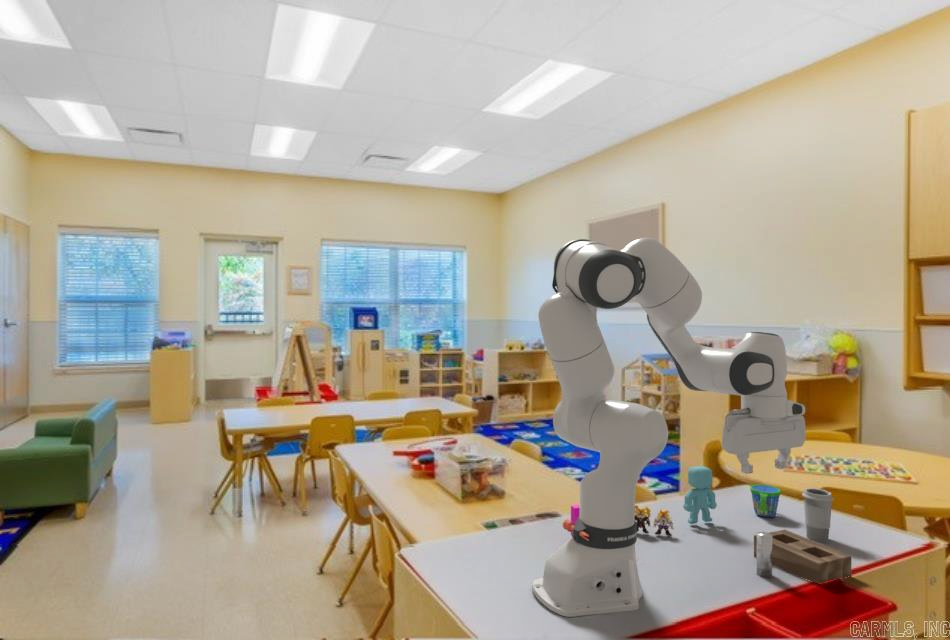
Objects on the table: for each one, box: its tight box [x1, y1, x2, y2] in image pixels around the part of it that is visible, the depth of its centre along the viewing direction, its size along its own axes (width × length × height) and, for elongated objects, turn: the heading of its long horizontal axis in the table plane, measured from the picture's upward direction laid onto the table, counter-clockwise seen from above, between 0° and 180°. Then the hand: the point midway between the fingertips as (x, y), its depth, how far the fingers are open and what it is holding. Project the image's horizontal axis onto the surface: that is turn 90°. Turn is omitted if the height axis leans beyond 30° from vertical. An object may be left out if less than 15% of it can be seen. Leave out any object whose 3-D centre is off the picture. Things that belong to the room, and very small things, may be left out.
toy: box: [682, 465, 718, 525], centre depth 152 cm, size 10×5×15 cm, turn 107°
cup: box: [801, 487, 835, 543], centre depth 140 cm, size 7×7×12 cm
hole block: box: [753, 529, 852, 584], centre depth 124 cm, size 10×16×5 cm, turn 22°
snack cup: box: [749, 484, 782, 518], centre depth 158 cm, size 11×8×7 cm
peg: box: [756, 531, 773, 579], centre depth 120 cm, size 3×3×9 cm
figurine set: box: [634, 504, 675, 537], centre depth 146 cm, size 3×16×7 cm, turn 73°
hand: (764, 470), depth 120 cm, fingers open, 8 cm apart
